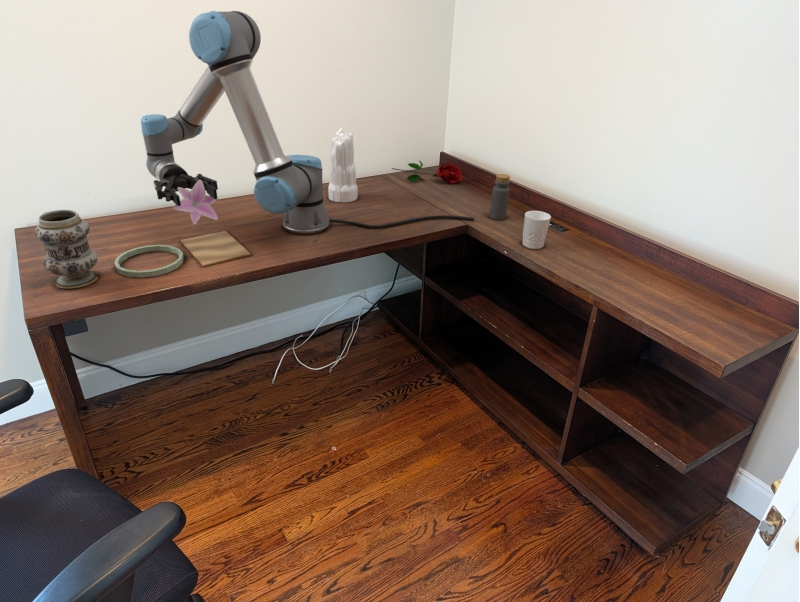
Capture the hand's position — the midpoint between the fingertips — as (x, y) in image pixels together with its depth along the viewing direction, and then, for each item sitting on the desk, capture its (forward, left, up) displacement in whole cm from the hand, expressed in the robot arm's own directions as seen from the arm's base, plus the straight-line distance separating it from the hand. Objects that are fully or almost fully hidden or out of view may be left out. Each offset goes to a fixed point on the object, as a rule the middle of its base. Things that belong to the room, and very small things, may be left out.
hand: (197, 197), depth 144 cm
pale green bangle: (+13, +7, -18) cm, 23 cm away
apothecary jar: (+26, +20, -18) cm, 38 cm away
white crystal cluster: (-26, -59, -18) cm, 67 cm away
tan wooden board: (0, -6, -18) cm, 19 cm away
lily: (+3, -3, -8) cm, 9 cm away
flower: (-55, -87, -18) cm, 104 cm away
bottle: (-84, -53, -18) cm, 101 cm away
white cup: (-95, -31, -18) cm, 101 cm away
